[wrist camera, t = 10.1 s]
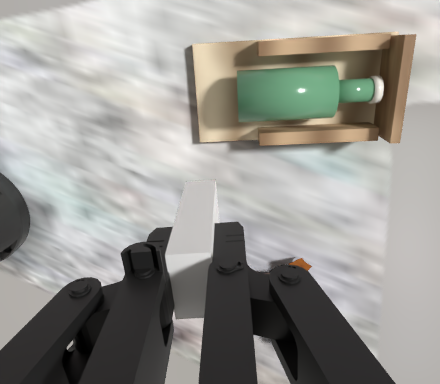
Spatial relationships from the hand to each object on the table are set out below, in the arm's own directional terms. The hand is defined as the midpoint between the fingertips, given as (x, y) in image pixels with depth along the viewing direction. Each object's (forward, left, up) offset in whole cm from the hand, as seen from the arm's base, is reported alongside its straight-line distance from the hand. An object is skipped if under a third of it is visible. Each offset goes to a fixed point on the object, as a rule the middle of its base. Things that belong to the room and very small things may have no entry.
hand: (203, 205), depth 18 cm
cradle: (+8, +2, -27) cm, 28 cm away
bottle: (+2, +2, -23) cm, 23 cm away
